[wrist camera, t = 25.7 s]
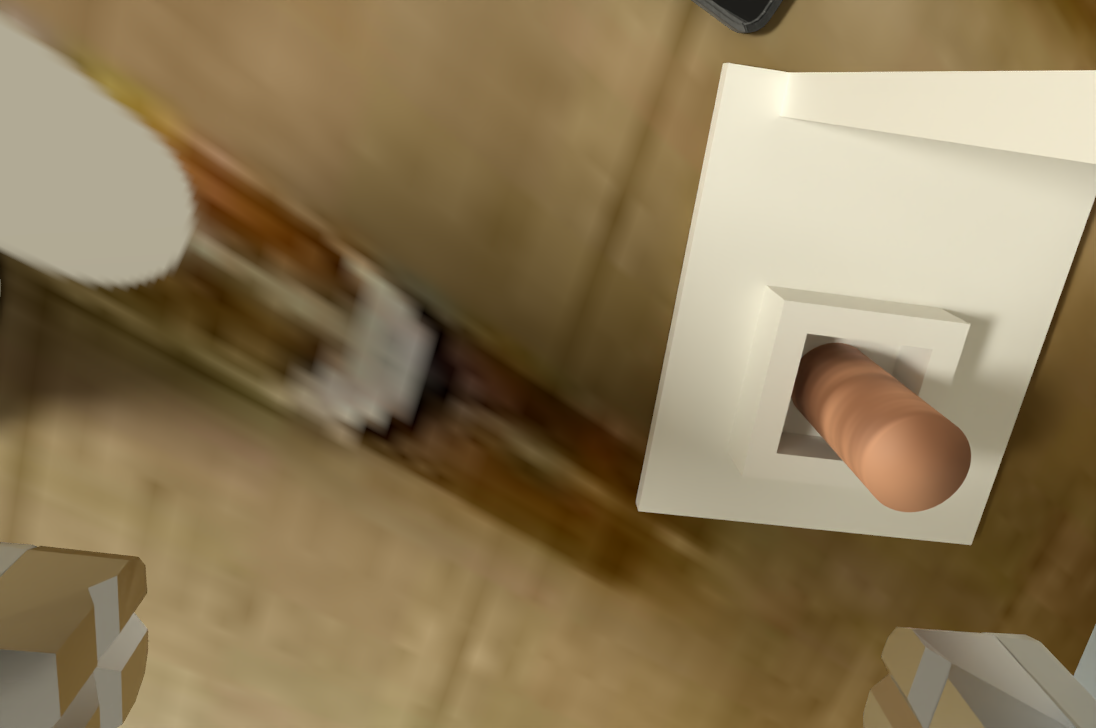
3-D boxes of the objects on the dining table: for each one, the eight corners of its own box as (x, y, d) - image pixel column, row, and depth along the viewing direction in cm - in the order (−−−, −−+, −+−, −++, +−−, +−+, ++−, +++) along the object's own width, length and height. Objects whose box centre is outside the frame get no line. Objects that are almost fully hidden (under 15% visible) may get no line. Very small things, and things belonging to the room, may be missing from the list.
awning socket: (635, 502, 47) (831, 1140, 19) (723, 63, 39) (1275, 34, 11) (962, 536, 49) (1584, 1162, 21) (1107, 123, 41) (2413, 228, 13)
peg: (821, 436, 45) (904, 531, 36) (772, 380, 44) (845, 464, 35) (887, 383, 44) (991, 466, 35) (840, 325, 43) (933, 395, 34)
